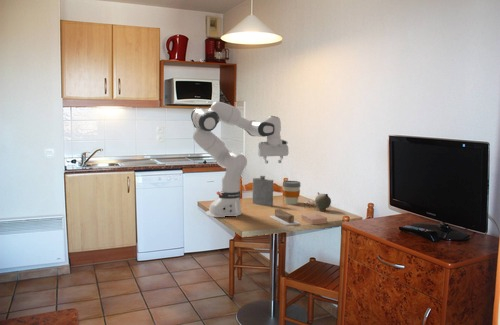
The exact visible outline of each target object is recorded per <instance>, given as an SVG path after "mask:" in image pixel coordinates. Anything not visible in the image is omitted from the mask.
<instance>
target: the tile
mask: <svg viewBox="0 0 500 325" xmlns="http://www.w3.org/2000/svg"><path fill="white" fill-rule="evenodd" d="M301 221H303V222H306V223H308V224H310V225H319V224H320V225H321V224H327V223H328V218H327V217H325V216H323V215H321V214H319V213H306V214H301Z"/></svg>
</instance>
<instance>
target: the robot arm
mask: <svg viewBox="0 0 500 325" xmlns="http://www.w3.org/2000/svg"><path fill="white" fill-rule="evenodd" d="M241 113H242V112H241V110H239V109H238V107H235V106H234V105H231V104H230V103H229V104H228V103H226V102H223V101H214V102H213V103H212V104H211V105H210V108H208V109H207V108H203V107H195V108H194V109H193V110H192V111H191V114H190V117H191V118H190V119H191V121H192V125H193V128H195V130H194V132H193V134H192V138H193V141H195V143H196V144H197V145H198V146H199V148H201V149H202V150H203V151H204V152H206V153H207V154H208V155H210V156H211V157H212V158H213V159H214V160H215V162H216V164H217V165H218V166H220V167H221V168H222V169H225V174H224V176H223V177H222V179H221V191H218V190H217V191H216V194H217V195H218V197H217V198H216V199H215V200H214V201H212V202H211V203H210V204H209V210H206V211H205V215H206V216H207V217H211V218H226V217H225V216H236V217H238V216H240V215H242V214H243V212H242V209H241V201H240V200H241V190H240V185H241V184H240V182H241V175H242V174H243V170H244V169H245V168H246V166H247V164H248V160H247V157H246V156H245V154H244V155H243V154H242V153H241V152H236V151H232V150H229V149H228V148H227V147H226V145H225V142H224V141H222V140H221V139H220V137H218V136H217V135H216V134H214V133H213V132H212V131H213V130H214V129H215V128H216V127H217V125H218V123H220V122H221V123H224V124H227V125H230V126H236V127H238V128H241V129H243V130H244V131H245V132H246V133H247V134H248V135H250V136H251V137H262V138H265V137H266V141H260V142H259V143H258V152H257V155H258V156H259V157H261V158H262V157H263V160H264V164H265V165H267V164H269V160H267V158H268V157H279V159H278V161H277V163H279V164H282V161H283V159H284V157H288V155H289V154H290V153H289V146H288V143H289V142H288V141H287V140H285V139H281V138H282V136H281V132H282V131H281V130H282V126H281V125H282V123H281V119H280V117H278V116H274V115H269V116H268V117H267V118H265V119H264V120H260V121H259V120H249V119H246V118H245V117H242V114H241Z"/></svg>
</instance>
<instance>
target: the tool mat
mask: <svg viewBox="0 0 500 325" xmlns="http://www.w3.org/2000/svg"><path fill="white" fill-rule="evenodd" d="M269 218H271V219H273V220H275V221H277V222H278V223H279V224H280V223H281V224H282V225H284V226H294V225H295V226H296V225H300V222H299V221H297V220H295V219H294V223H287V222H286V221H284V220H282V219H280V218H278V217H276V216H275V214H274V215H269Z"/></svg>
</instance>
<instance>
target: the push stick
mask: <svg viewBox="0 0 500 325" xmlns="http://www.w3.org/2000/svg"><path fill="white" fill-rule="evenodd" d="M274 215H275V216H276V217H278V218H280V219H282V220H284V221H286V222H287V223H294V220H295V215H293V214H291V213H289V212H287V211H285V210H283V209H281V208H279V209H278V208H277V209H274Z"/></svg>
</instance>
